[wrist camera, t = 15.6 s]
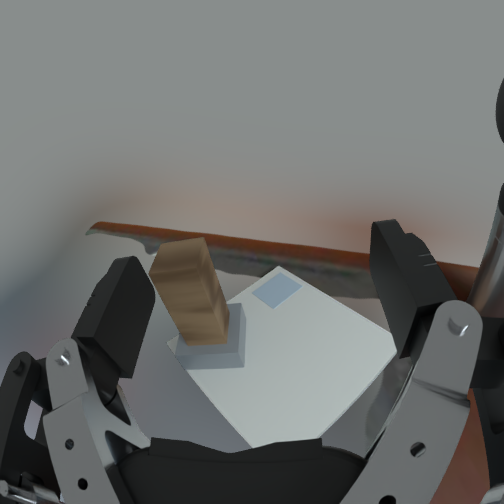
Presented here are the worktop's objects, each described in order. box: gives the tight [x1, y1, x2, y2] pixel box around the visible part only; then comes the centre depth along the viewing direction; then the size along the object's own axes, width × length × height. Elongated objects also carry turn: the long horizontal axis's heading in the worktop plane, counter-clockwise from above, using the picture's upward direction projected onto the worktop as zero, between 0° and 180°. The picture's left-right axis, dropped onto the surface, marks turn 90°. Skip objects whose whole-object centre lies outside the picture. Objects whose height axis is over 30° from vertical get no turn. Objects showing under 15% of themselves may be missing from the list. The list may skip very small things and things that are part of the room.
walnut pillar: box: [149, 237, 230, 346], centre depth 33 cm, size 5×5×12 cm
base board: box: [166, 266, 397, 448], centre depth 36 cm, size 22×24×4 cm
